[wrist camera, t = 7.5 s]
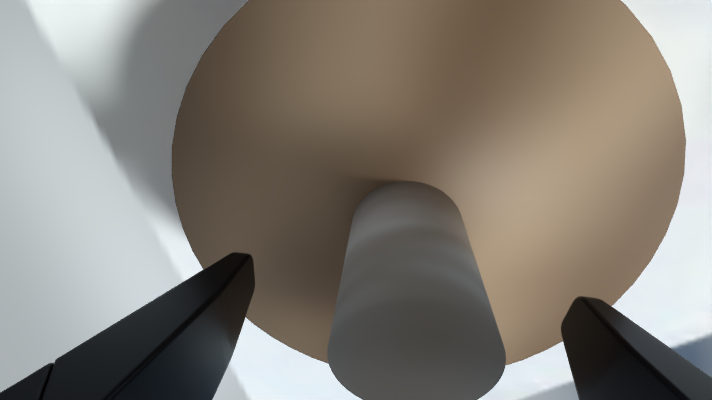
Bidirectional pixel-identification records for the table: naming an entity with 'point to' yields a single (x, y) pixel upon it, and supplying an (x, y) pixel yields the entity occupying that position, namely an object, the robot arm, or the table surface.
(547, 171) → the lid
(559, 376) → the table surface
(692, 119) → the table surface
